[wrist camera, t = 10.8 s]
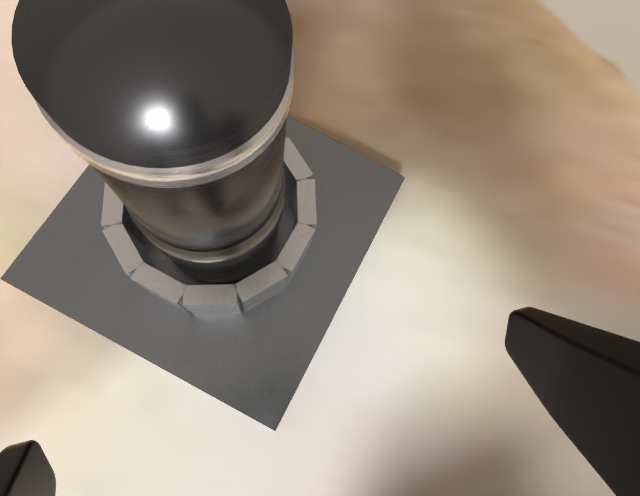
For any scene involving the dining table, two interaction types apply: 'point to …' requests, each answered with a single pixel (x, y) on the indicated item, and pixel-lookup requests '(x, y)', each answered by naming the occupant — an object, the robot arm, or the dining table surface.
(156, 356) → the lens mount
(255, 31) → the lens
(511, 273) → the dining table surface
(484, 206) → the dining table surface
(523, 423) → the dining table surface
